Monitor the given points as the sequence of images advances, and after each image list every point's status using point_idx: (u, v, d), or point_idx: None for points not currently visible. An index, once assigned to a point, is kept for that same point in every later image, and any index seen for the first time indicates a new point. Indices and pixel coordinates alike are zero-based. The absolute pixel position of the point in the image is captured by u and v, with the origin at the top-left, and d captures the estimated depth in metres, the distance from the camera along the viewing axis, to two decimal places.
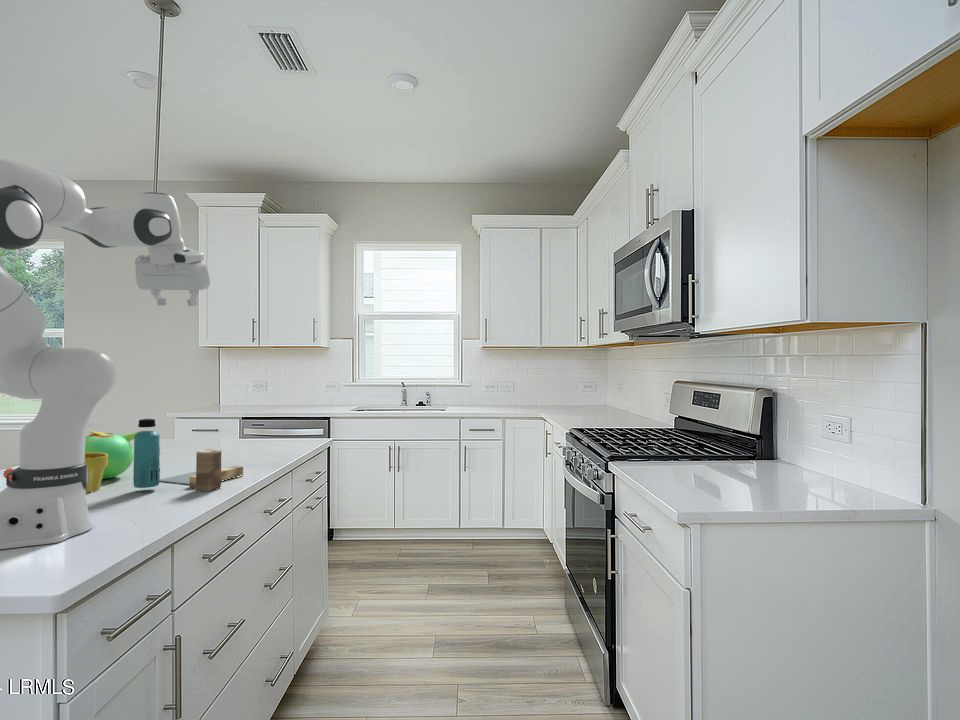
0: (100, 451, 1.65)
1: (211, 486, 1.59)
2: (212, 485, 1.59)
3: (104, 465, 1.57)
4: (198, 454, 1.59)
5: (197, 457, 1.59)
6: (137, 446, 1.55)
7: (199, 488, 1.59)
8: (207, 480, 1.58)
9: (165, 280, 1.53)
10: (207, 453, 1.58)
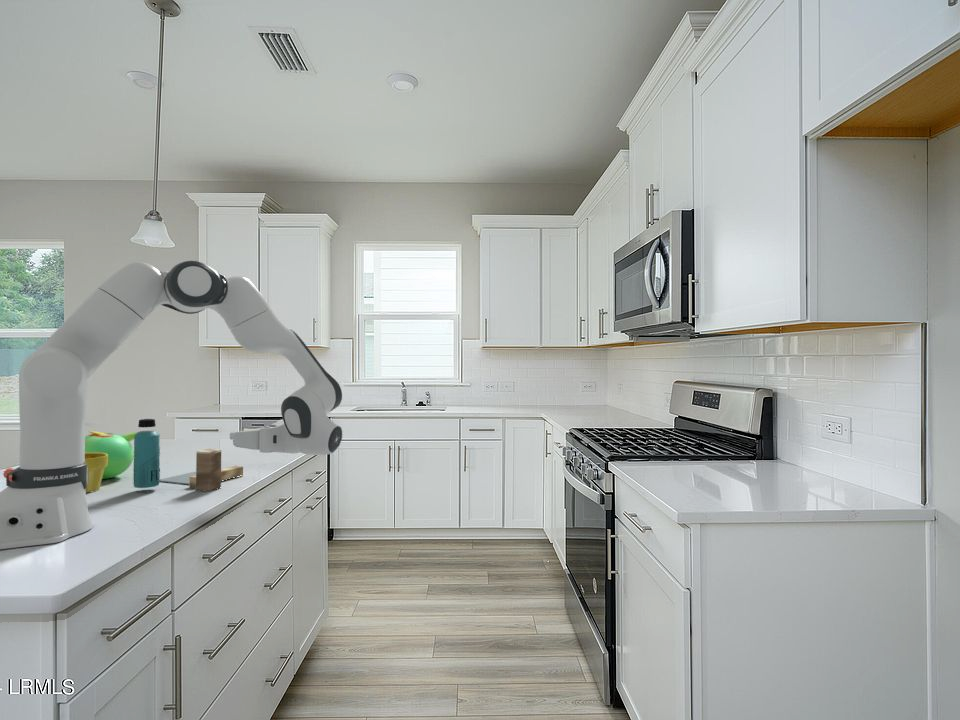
0: (100, 451, 1.65)
1: (211, 486, 1.59)
2: (212, 485, 1.59)
3: (104, 465, 1.57)
4: (198, 454, 1.59)
5: (197, 457, 1.59)
6: (137, 446, 1.55)
7: (199, 488, 1.59)
8: (207, 480, 1.58)
9: None
10: (207, 453, 1.58)
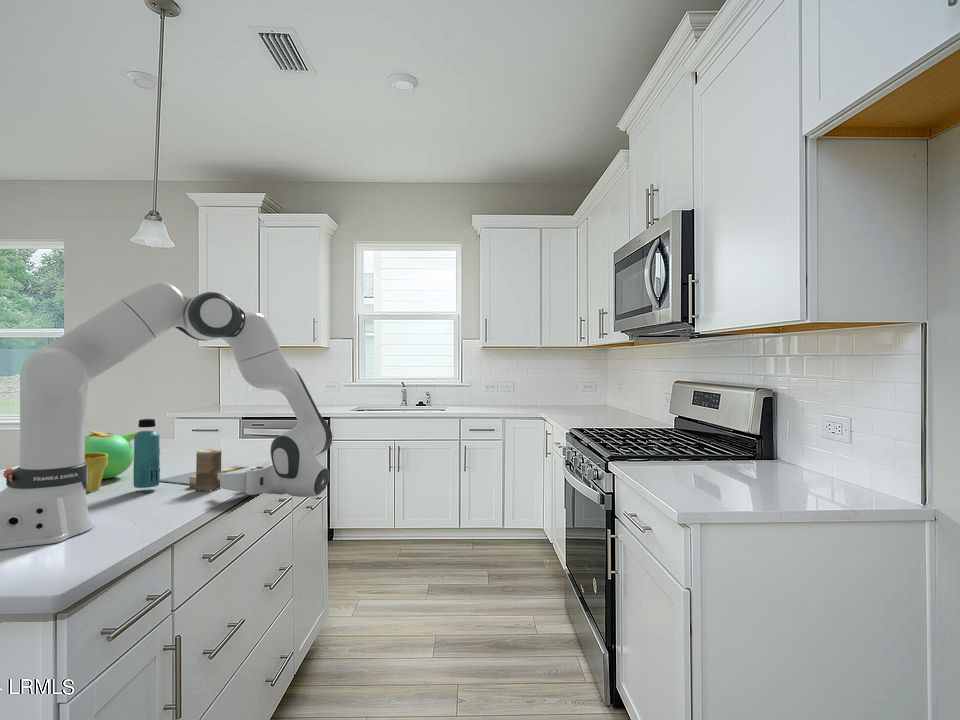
0: (100, 451, 1.65)
1: (211, 486, 1.59)
2: (212, 485, 1.59)
3: (104, 465, 1.57)
4: (198, 454, 1.59)
5: (197, 457, 1.59)
6: (137, 446, 1.55)
7: (199, 488, 1.59)
8: (207, 480, 1.58)
9: (255, 467, 1.56)
10: (207, 453, 1.58)
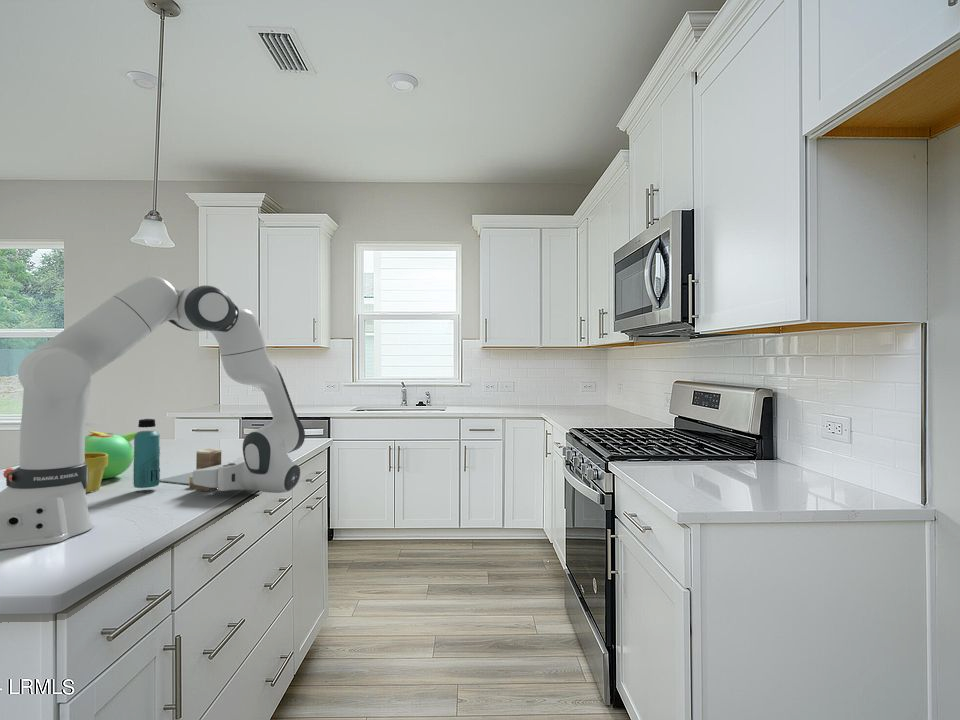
0: (100, 451, 1.65)
1: None
2: None
3: (104, 465, 1.57)
4: (198, 454, 1.59)
5: (197, 457, 1.59)
6: (137, 446, 1.55)
7: (199, 488, 1.59)
8: None
9: None
10: (207, 453, 1.58)
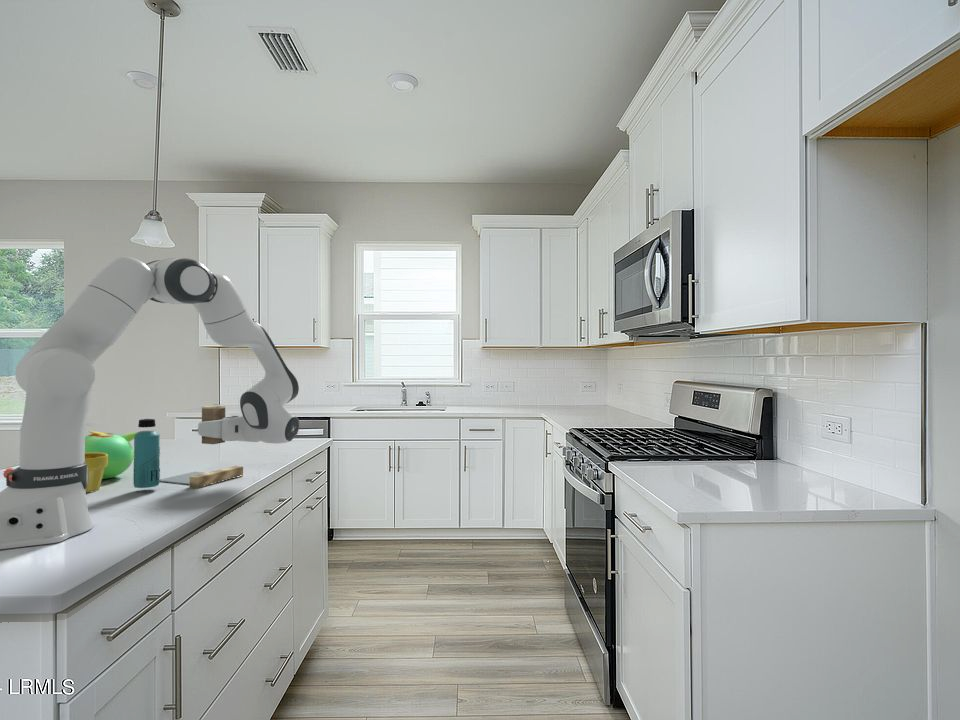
0: (100, 451, 1.65)
1: (216, 439, 1.67)
2: (217, 439, 1.68)
3: (104, 465, 1.57)
4: (203, 410, 1.68)
5: (202, 412, 1.68)
6: (137, 446, 1.55)
7: (204, 441, 1.68)
8: None
9: None
10: (212, 408, 1.67)
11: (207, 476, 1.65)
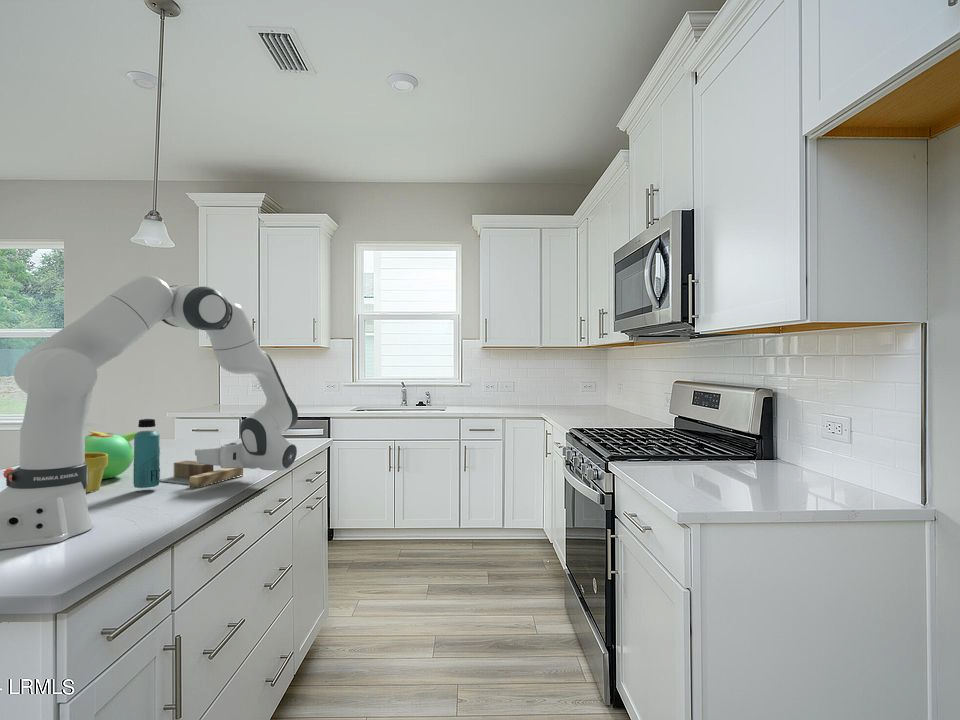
0: (100, 451, 1.65)
1: (201, 464, 1.71)
2: (202, 464, 1.72)
3: (104, 465, 1.57)
4: (176, 475, 1.73)
5: (177, 476, 1.73)
6: (137, 446, 1.55)
7: None
8: (194, 466, 1.71)
9: None
10: (174, 464, 1.73)
11: (207, 476, 1.65)
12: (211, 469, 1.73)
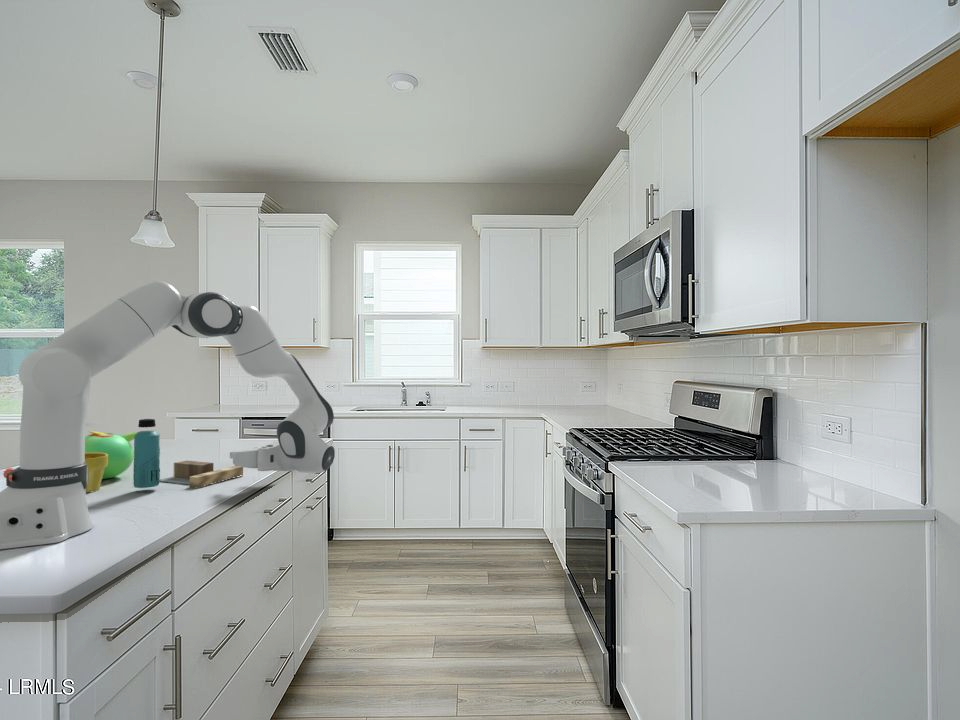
0: (100, 451, 1.65)
1: (201, 464, 1.71)
2: (202, 464, 1.72)
3: (104, 465, 1.57)
4: (176, 475, 1.73)
5: (177, 476, 1.73)
6: (137, 446, 1.55)
7: None
8: (194, 466, 1.71)
9: None
10: (174, 464, 1.73)
11: (207, 476, 1.65)
12: (211, 469, 1.73)
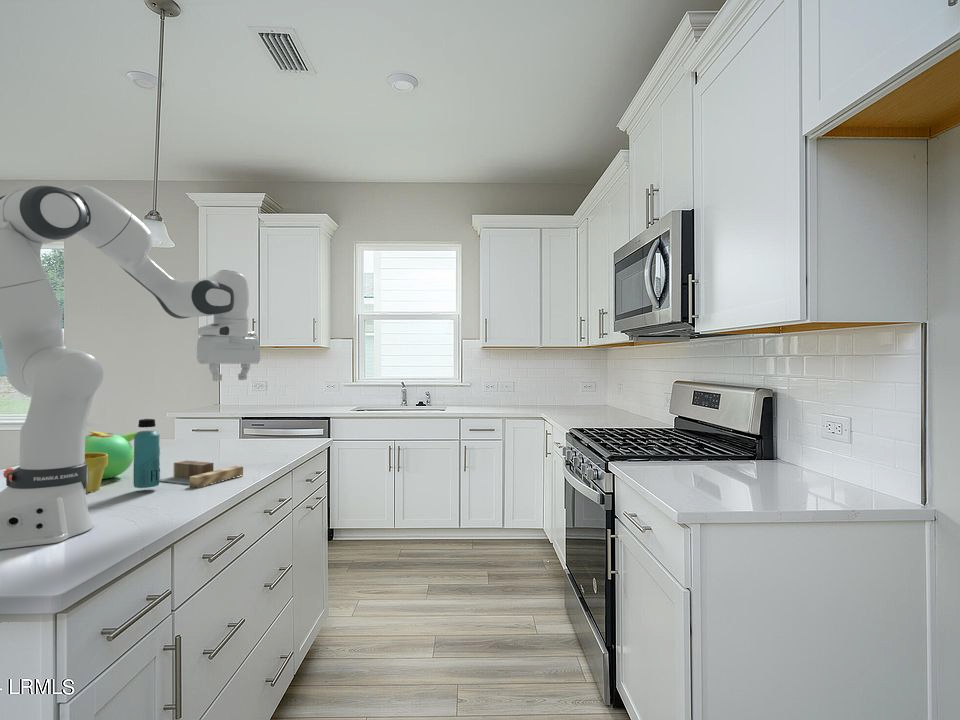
0: (100, 451, 1.65)
1: (201, 464, 1.71)
2: (202, 464, 1.72)
3: (104, 465, 1.57)
4: (176, 475, 1.73)
5: (177, 476, 1.73)
6: (137, 446, 1.55)
7: None
8: (194, 466, 1.71)
9: None
10: (174, 464, 1.73)
11: (207, 476, 1.65)
12: (211, 469, 1.73)
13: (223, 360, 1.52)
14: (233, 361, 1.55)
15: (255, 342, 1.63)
